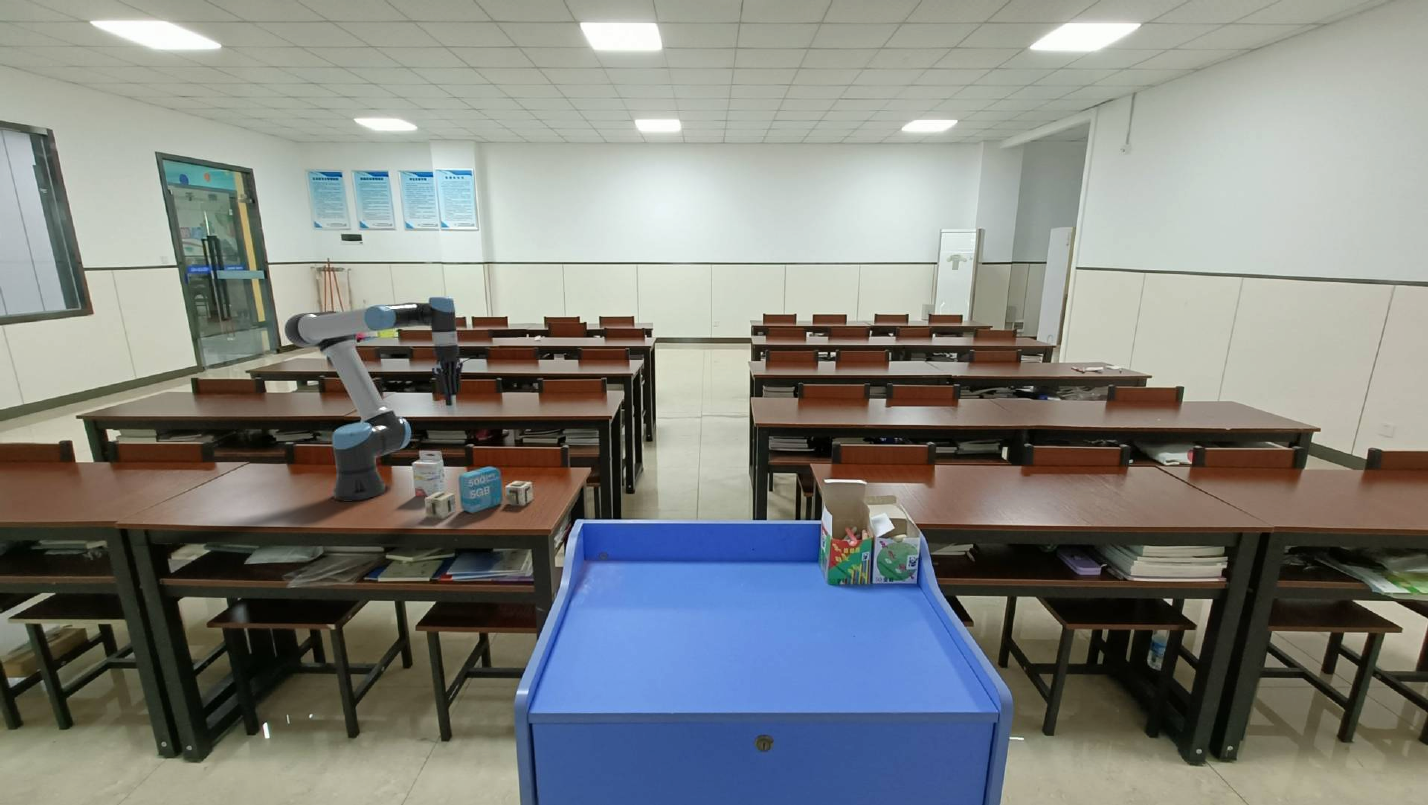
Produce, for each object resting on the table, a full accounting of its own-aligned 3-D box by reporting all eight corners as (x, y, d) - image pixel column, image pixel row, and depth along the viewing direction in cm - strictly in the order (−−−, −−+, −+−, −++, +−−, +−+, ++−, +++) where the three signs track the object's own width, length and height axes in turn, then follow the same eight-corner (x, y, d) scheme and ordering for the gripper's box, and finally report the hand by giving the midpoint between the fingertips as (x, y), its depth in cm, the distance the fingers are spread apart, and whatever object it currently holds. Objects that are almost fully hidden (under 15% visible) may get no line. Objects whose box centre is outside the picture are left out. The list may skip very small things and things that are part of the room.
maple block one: (426, 517, 189) (424, 498, 188) (439, 509, 195) (437, 491, 194) (443, 519, 188) (441, 499, 187) (456, 511, 194) (454, 492, 192)
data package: (468, 514, 191) (465, 477, 189) (461, 511, 194) (457, 474, 191) (503, 503, 200) (500, 467, 198) (495, 500, 203) (492, 465, 200)
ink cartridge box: (414, 496, 207) (409, 454, 204) (422, 491, 211) (418, 450, 208) (439, 497, 206) (434, 455, 203) (446, 492, 211) (442, 450, 208)
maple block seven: (506, 504, 199) (504, 486, 198) (516, 498, 205) (515, 480, 204) (523, 506, 198) (522, 487, 196) (533, 499, 204) (532, 481, 202)
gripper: (442, 347, 196) (449, 419, 201) (468, 342, 209) (474, 410, 214) (422, 346, 198) (429, 418, 203) (448, 342, 210) (455, 409, 215)
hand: (452, 414), depth 208 cm, fingers closed
